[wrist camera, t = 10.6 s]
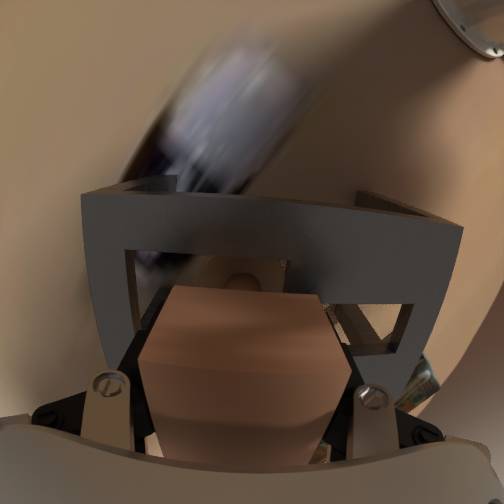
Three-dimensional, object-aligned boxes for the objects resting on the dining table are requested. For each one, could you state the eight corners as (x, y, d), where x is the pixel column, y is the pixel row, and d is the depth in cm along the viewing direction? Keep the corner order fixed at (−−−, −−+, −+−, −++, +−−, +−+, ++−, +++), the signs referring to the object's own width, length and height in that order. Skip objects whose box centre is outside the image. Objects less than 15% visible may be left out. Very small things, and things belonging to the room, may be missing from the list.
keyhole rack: (373, 192, 21) (463, 227, 10) (349, 313, 24) (398, 398, 14) (158, 174, 20) (80, 194, 10) (160, 303, 24) (116, 392, 13)
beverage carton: (422, 357, 27) (447, 392, 21) (297, 436, 31) (304, 475, 25) (400, 321, 25) (430, 360, 19) (259, 414, 29) (261, 459, 23)
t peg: (291, 242, 16) (352, 371, 6) (279, 319, 17) (307, 465, 8) (200, 235, 15) (137, 359, 6) (199, 313, 17) (164, 458, 7)
